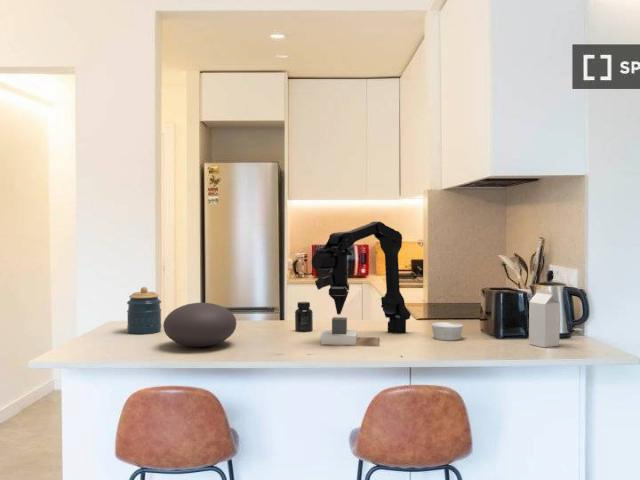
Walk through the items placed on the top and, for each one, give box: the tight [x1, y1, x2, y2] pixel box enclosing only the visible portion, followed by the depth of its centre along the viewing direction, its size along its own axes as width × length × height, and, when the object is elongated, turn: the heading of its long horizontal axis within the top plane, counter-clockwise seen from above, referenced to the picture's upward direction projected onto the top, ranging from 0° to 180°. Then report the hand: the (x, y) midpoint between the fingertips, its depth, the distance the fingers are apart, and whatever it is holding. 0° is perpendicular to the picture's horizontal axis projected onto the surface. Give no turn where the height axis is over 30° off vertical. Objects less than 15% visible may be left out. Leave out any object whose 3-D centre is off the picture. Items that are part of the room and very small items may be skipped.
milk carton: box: [528, 289, 561, 348], centre depth 209 cm, size 7×7×19 cm
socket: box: [320, 329, 358, 345], centre depth 211 cm, size 12×12×3 cm
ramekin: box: [431, 321, 464, 342], centre depth 222 cm, size 11×11×5 cm
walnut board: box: [319, 336, 381, 348], centre depth 211 cm, size 20×16×1 cm
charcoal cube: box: [331, 316, 348, 334], centre depth 211 cm, size 5×5×7 cm
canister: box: [126, 286, 162, 335], centre depth 236 cm, size 13×13×18 cm
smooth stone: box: [162, 302, 237, 348], centre depth 209 cm, size 25×25×15 cm
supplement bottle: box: [294, 301, 314, 333], centre depth 233 cm, size 7×7×12 cm
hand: (339, 312), depth 211 cm, fingers open, 7 cm apart
